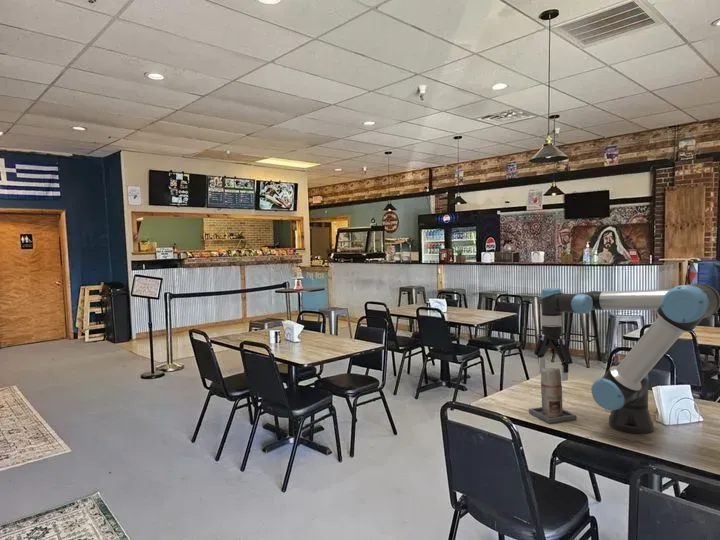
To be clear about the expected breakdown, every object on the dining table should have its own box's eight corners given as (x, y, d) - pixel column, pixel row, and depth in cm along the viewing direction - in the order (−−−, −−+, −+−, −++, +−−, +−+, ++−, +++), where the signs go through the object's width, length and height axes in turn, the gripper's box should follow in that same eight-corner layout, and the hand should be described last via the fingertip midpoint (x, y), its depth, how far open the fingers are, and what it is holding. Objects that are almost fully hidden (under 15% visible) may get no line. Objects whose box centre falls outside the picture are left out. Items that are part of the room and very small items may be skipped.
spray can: (539, 416, 192) (539, 369, 191) (542, 410, 199) (541, 364, 198) (562, 419, 188) (561, 371, 187) (563, 413, 195) (563, 366, 194)
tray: (576, 420, 189) (576, 415, 189) (549, 424, 185) (549, 419, 185) (554, 409, 202) (554, 405, 202) (528, 413, 198) (528, 408, 198)
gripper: (581, 328, 181) (582, 382, 182) (539, 321, 205) (540, 368, 205) (565, 330, 179) (566, 384, 179) (525, 322, 203) (526, 370, 203)
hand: (552, 376), depth 192 cm, fingers open, 13 cm apart
